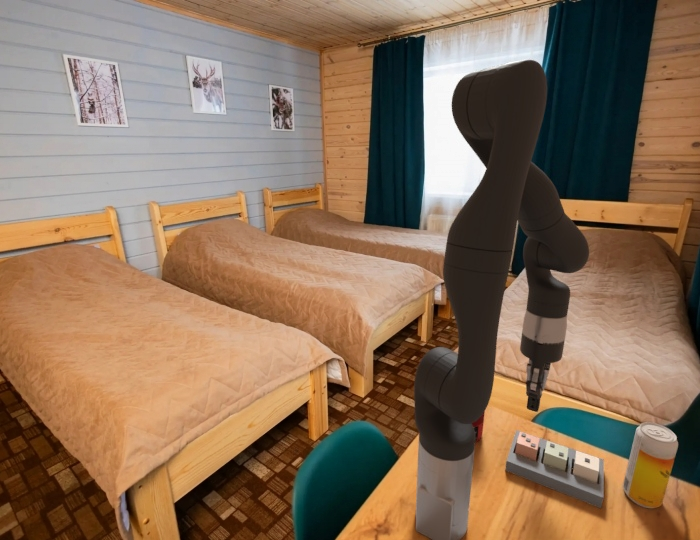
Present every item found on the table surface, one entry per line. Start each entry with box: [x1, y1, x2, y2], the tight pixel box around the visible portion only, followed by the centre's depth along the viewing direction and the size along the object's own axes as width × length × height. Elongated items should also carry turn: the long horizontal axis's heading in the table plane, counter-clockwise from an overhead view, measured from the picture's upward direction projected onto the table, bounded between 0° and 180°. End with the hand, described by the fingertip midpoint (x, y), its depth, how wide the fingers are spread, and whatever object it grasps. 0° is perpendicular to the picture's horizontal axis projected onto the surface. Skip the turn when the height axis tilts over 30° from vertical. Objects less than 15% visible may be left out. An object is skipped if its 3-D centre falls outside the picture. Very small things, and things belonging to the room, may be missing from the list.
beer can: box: [622, 421, 679, 509], centre depth 71 cm, size 6×6×15 cm
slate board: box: [505, 429, 605, 509], centre depth 79 cm, size 11×17×2 cm, turn 57°
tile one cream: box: [572, 450, 600, 483], centre depth 76 cm, size 4×4×3 cm
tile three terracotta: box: [515, 431, 541, 461], centre depth 82 cm, size 4×4×3 cm
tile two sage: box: [542, 440, 569, 472], centre depth 79 cm, size 4×4×3 cm
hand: (532, 408), depth 79 cm, fingers closed
